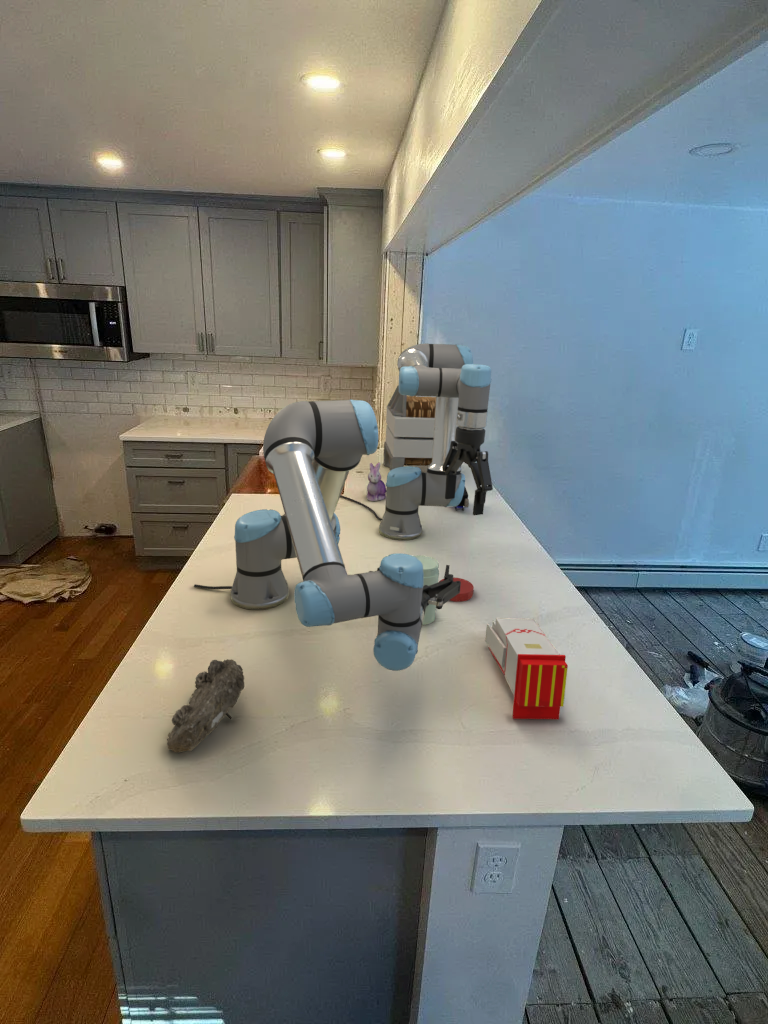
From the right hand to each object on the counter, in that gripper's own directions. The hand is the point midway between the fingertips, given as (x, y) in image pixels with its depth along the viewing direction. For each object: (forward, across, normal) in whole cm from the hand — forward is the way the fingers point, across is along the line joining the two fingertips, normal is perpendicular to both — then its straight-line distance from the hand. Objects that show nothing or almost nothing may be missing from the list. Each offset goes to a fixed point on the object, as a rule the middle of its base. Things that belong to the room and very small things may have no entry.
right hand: (463, 506), depth 151 cm
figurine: (+26, -83, +14) cm, 88 cm away
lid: (+24, 0, 0) cm, 24 cm away
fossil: (+26, +26, -71) cm, 80 cm away
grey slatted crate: (+26, -111, +50) cm, 125 cm away
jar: (+26, +8, -16) cm, 31 cm away
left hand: (+7, +16, -22) cm, 28 cm away
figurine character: (+26, -63, +41) cm, 79 cm away
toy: (+26, +39, -8) cm, 47 cm away
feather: (+26, -74, -28) cm, 83 cm away
